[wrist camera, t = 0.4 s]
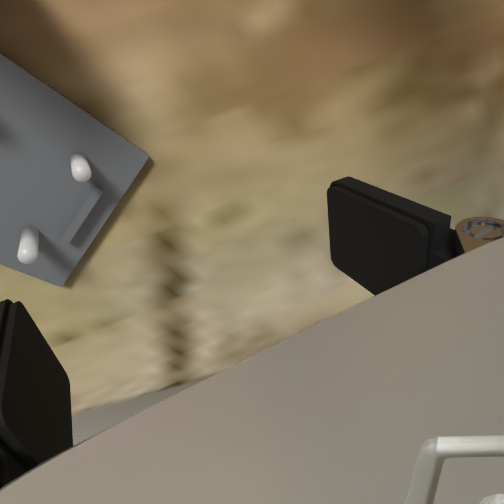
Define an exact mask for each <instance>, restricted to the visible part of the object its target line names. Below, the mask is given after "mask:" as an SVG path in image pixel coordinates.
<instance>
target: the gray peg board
mask: <svg viewBox="0 0 504 504" xmlns="http://www.w3.org/2000/svg"><path fill="white" fill-rule="evenodd" d="M149 157H150V156H149V155H148V154H147V153H146V152H144V151H143V150H141V149H140V148H138V147H137V146H135V145H134V144H132V143H131V142H129V141H128V140H127V139H125V138H124V137H122V136H121V135H119V134H118V133H116V132H115V131H113V130H112V129H111V128H109V127H108V126H106V125H105V124H103V123H102V122H100V121H99V120H97V119H96V118H94V117H93V116H92V115H90V114H89V113H87V112H86V111H84V110H83V109H81V108H80V107H78V106H77V105H76V104H74V103H73V102H71V101H70V100H68V99H67V98H65V97H64V96H62V95H61V94H59V93H58V92H57V91H55V90H54V89H52V88H51V87H49V86H48V85H46V84H45V83H43V82H42V81H41V80H39V79H38V78H36V77H35V76H33V75H32V74H30V73H29V72H27V71H26V70H24V69H23V68H22V67H20V66H19V65H17V64H16V63H14V62H13V61H11V60H10V59H8V58H7V57H6V56H4V55H3V54H1V53H0V264H2V265H5V266H7V267H10V268H13V269H15V270H18V271H20V272H23V273H26V274H28V275H31V276H34V277H36V278H39V279H42V280H44V281H47V282H50V283H52V284H55V285H58V286H60V287H62V286H63V284H64V283H65V281H66V280H67V278H68V277H69V275H70V274H71V272H72V271H73V269H74V268H75V266H76V265H77V263H78V262H79V260H80V259H81V257H82V256H83V254H84V253H85V252H86V250H87V249H88V247H89V246H90V244H91V243H92V241H93V240H94V238H95V237H96V235H97V234H98V232H99V231H100V229H101V228H102V226H103V225H104V223H105V222H106V220H107V219H108V217H109V216H110V214H111V213H112V212H113V210H114V209H115V207H116V206H117V204H118V203H119V201H120V200H121V198H122V197H123V195H124V194H125V192H126V191H127V189H128V188H129V186H130V185H131V183H132V182H133V180H134V179H135V177H136V176H137V174H138V173H139V172H140V170H141V169H142V167H143V166H144V164H145V163H146V161H147V160H148V158H149Z"/></svg>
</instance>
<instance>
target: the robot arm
mask: <svg viewBox="0 0 504 504" xmlns="http://www.w3.org/2000/svg"><path fill="white" fill-rule="evenodd" d="M327 203H328V219H329V235H330V252H331V260H332V262H333V264H334V265H335V266H336V267H337V268H338V269H339V270H341V271H342V272H344V273H345V274H346V275H348V276H349V277H350V278H352V279H353V280H355V281H356V282H357V283H359V284H360V285H361V286H363V287H364V288H366V289H367V290H368V291H370V292H371V293H372V294H374V295H375V296H374V297H372V298H370V299H368V300H366V301H363V302H361V303H359V304H357V305H355V306H353V307H351V308H349V309H347V310H345V311H343V312H341V313H339V314H337V315H335V316H333V317H331V318H329V319H327V320H324V321H322V322H320V323H318V324H316V325H314V326H312V327H310V328H308V329H306V330H304V331H302V332H300V333H298V334H296V335H294V336H292V337H290V338H288V339H286V340H284V341H282V342H280V343H278V344H276V345H274V346H272V347H270V348H268V349H266V350H264V351H261V352H259V353H257V354H255V355H253V356H251V357H249V358H247V359H245V360H243V361H241V362H239V363H237V364H235V365H233V366H231V367H229V368H227V369H225V370H223V371H221V372H219V373H217V374H215V375H213V376H211V377H209V378H207V379H205V380H203V381H201V382H199V383H197V384H195V385H193V386H191V387H189V388H187V389H185V390H183V391H181V392H179V393H177V394H175V395H173V396H171V397H169V398H167V399H165V400H163V401H161V402H159V403H157V404H155V405H153V406H151V407H149V408H147V409H145V410H143V411H141V412H139V413H137V414H135V415H133V416H131V417H129V418H127V419H125V420H123V421H121V422H119V423H117V424H115V425H113V426H111V427H109V428H107V429H105V430H103V431H101V432H99V433H97V434H95V435H94V436H91V437H90V438H88V439H86V440H84V441H82V442H80V443H79V444H77V445H75V446H73V439H72V419H71V418H72V417H71V397H70V383H69V379H68V376H67V374H66V372H65V370H64V369H63V367H62V365H61V364H60V362H59V361H58V359H57V357H56V356H55V354H54V353H53V351H52V350H51V348H50V346H49V345H48V343H47V342H46V340H45V338H44V337H43V335H42V334H41V332H40V331H39V329H38V327H37V326H36V324H35V323H34V321H33V319H32V318H31V316H30V315H29V313H28V312H27V310H26V308H25V307H24V305H23V304H22V303H21V302H20V301H18V302H15V303H13V302H12V301H10V300H9V299H7V300H4V301H1V302H0V504H504V220H501V219H497V218H491V217H473V218H468V219H464V220H462V221H460V222H458V224H457V225H456V229H455V230H453V229H451V228H450V221H451V216H449V215H447V214H444V213H442V212H439V211H436V210H434V209H431V208H429V207H426V206H424V205H421V204H419V203H416V202H413V201H411V200H408V199H406V198H403V197H401V196H398V195H395V194H393V193H390V192H388V191H385V190H383V189H380V188H378V187H375V186H372V185H370V184H367V183H365V182H362V181H360V180H357V179H354V178H352V177H345V178H342V179H339V180H337V181H334V182H332V183H331V185H330V188H328V190H327Z"/></svg>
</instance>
